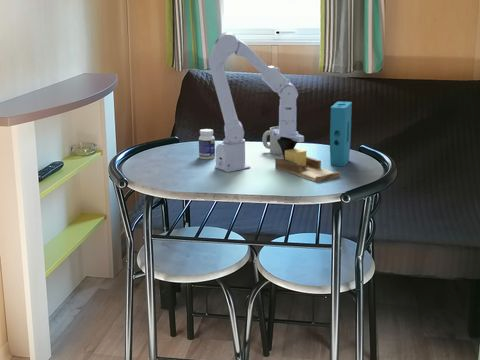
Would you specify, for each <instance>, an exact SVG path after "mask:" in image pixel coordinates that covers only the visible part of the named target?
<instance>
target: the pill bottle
mask: <svg viewBox="0 0 480 360" xmlns="http://www.w3.org/2000/svg"><path fill="white" fill-rule="evenodd" d="M199 134H200V135H199V137H198V158H199V159H201V160H202V159H203V160H212V159H214V158H216V141H215V140H216V138H215V136H214V129H211V128H203V129H202V128H201V129H199Z"/></svg>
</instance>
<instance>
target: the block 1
mask: <svg viewBox="0 0 480 360" xmlns="http://www.w3.org/2000/svg"><path fill="white" fill-rule="evenodd" d="M306 156H307V150H305V149H301V148H298V147H294V149H289V150H285V160H288V161H291V162H295V163H298V164H301V165H302V166H306Z"/></svg>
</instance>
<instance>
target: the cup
mask: <svg viewBox="0 0 480 360" xmlns="http://www.w3.org/2000/svg"><path fill="white" fill-rule="evenodd" d="M273 129H279V125H277V126H272V127H269V130H266V131H264V133H263V135H262V140H261V141H262V145H263V146H264V148H265V149H268V150H269V152H270V154H272V155H276V156H277V155H278V156H279V155H281V156H283V154H282V150H281V147H280V145H279V143H278V142H277V140H278V139H280V138H281V137H279V136H276V135H275V136H273V135H272V130H273ZM268 136H269V143H268V141H267V140H268Z"/></svg>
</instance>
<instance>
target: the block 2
mask: <svg viewBox="0 0 480 360" xmlns="http://www.w3.org/2000/svg"><path fill="white" fill-rule="evenodd" d="M352 105H353V102H352V101H336V102H335V103H334V104H333V105H332V106H330V124H329V125H330V127H329V128H330V130H329V131H330V132H329V152H330V153H329V161H330V162H329V163H330V165H331V166H336V167H345V166H346V165H347V164H348V163H349V161H350V152H351V151H350V150H351V149H350V148H351V137H352Z"/></svg>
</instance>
